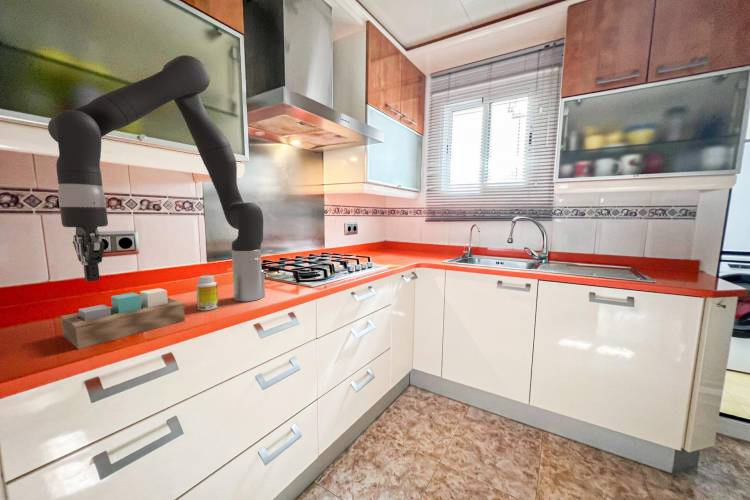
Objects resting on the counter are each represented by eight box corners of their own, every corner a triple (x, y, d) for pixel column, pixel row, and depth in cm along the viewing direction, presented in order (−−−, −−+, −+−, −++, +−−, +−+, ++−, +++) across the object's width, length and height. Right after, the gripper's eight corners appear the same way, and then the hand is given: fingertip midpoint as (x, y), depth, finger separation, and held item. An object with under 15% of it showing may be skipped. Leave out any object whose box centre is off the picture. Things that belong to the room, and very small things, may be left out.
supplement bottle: (221, 308, 92) (219, 276, 91) (201, 312, 88) (199, 278, 87) (214, 304, 95) (213, 273, 94) (195, 308, 91) (193, 276, 90)
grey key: (105, 320, 73) (103, 304, 72) (111, 323, 70) (110, 307, 70) (80, 325, 69) (78, 309, 68) (86, 329, 66) (84, 312, 66)
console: (164, 312, 87) (163, 296, 86) (184, 320, 80) (183, 303, 80) (63, 336, 69) (61, 316, 69) (78, 349, 63) (76, 326, 62)
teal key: (134, 307, 77) (133, 292, 77) (141, 310, 75) (140, 295, 75) (112, 311, 74) (111, 296, 73) (119, 315, 71) (117, 299, 71)
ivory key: (160, 301, 82) (159, 288, 82) (168, 304, 80) (167, 290, 80) (141, 305, 79) (140, 291, 78) (148, 308, 76) (147, 293, 76)
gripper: (115, 205, 66) (123, 281, 68) (96, 206, 73) (103, 274, 75) (68, 204, 60) (78, 288, 62) (52, 205, 67) (62, 280, 69)
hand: (92, 280), depth 68 cm, fingers closed
